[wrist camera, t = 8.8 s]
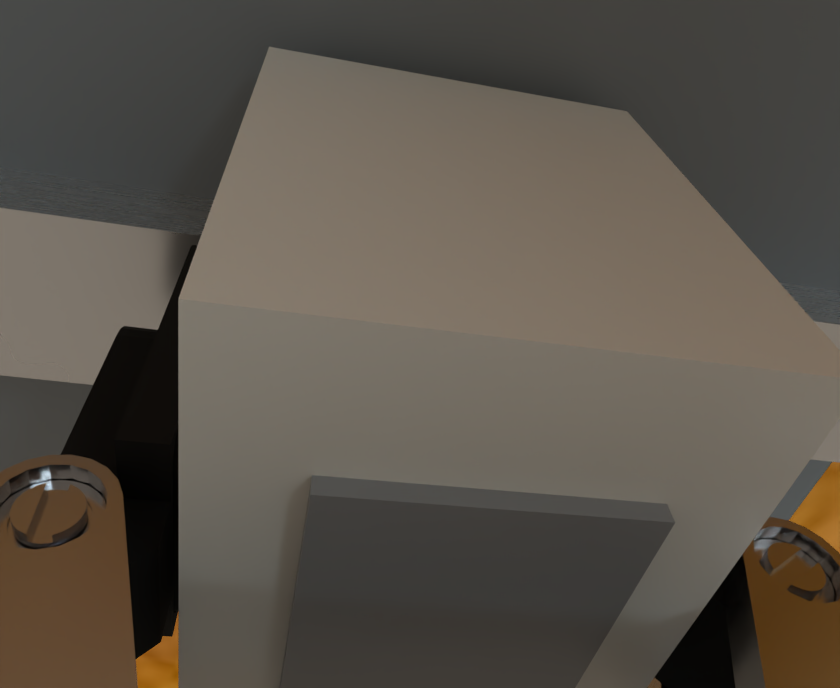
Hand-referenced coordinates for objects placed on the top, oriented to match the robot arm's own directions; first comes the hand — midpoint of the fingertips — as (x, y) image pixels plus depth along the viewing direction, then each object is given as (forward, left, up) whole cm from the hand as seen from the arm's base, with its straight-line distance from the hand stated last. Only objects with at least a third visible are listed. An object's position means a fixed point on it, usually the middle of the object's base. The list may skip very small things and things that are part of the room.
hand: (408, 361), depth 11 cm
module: (0, 0, -1) cm, 1 cm away
